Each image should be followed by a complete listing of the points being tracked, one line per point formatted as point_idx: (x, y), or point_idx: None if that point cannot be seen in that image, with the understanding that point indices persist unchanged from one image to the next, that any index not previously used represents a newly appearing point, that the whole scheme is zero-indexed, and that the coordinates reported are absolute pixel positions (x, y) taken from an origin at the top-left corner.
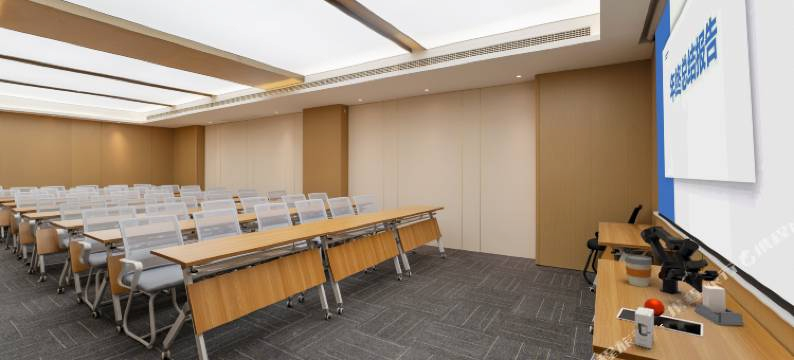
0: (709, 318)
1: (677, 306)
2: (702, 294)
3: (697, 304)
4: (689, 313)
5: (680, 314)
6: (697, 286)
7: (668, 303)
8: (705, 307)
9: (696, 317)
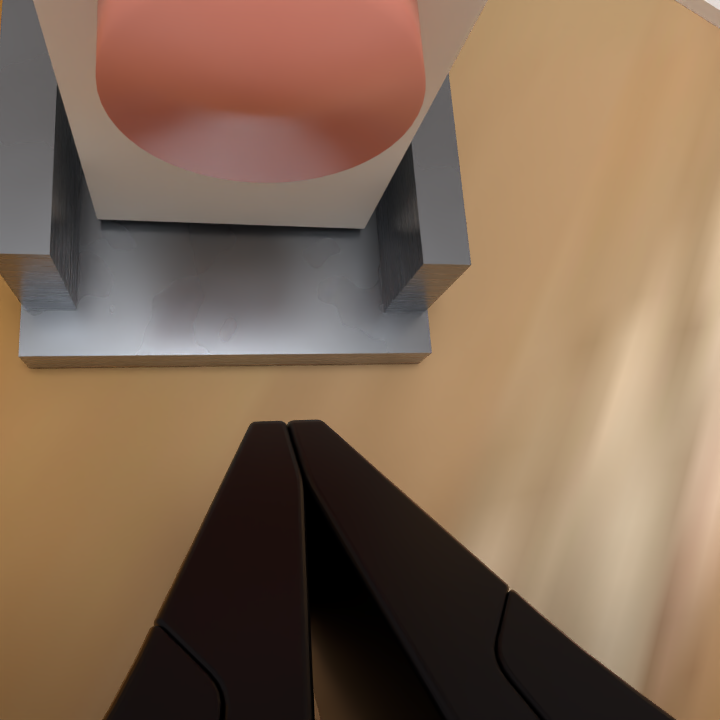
0: None
1: (586, 567)
2: (485, 2)
3: (461, 224)
4: (533, 255)
5: (660, 206)
6: (415, 515)
7: (677, 717)
8: None
9: (507, 115)
